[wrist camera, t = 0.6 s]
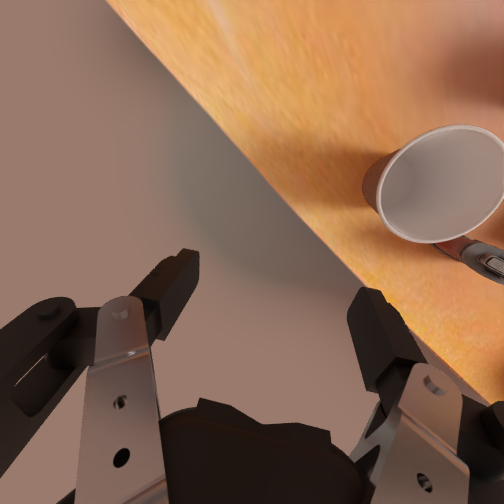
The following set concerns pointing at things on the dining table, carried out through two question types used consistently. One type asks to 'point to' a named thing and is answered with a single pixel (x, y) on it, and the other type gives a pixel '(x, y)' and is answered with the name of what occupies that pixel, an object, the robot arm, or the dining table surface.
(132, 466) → the robot arm
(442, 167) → the coffee cup
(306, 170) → the dining table surface
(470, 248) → the lighter
